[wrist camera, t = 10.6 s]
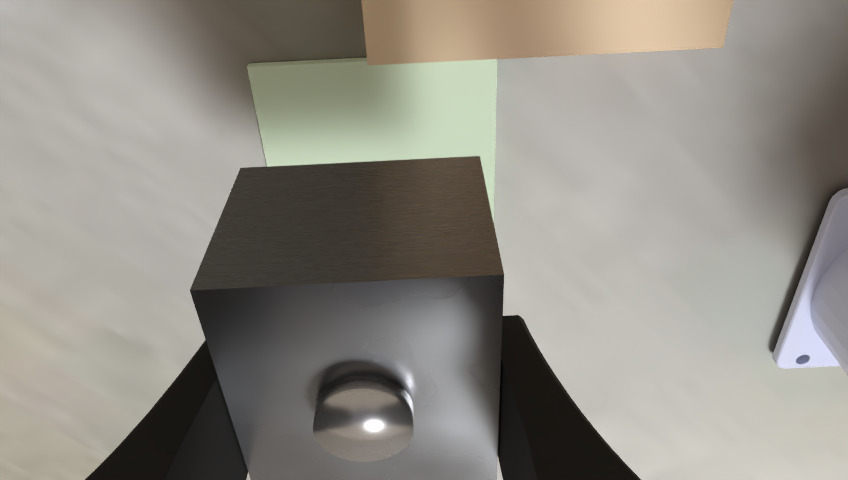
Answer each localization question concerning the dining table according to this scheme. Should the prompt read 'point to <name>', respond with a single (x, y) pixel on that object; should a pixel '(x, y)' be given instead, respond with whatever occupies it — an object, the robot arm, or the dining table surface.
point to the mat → (376, 111)
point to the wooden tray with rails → (536, 28)
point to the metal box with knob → (358, 320)
